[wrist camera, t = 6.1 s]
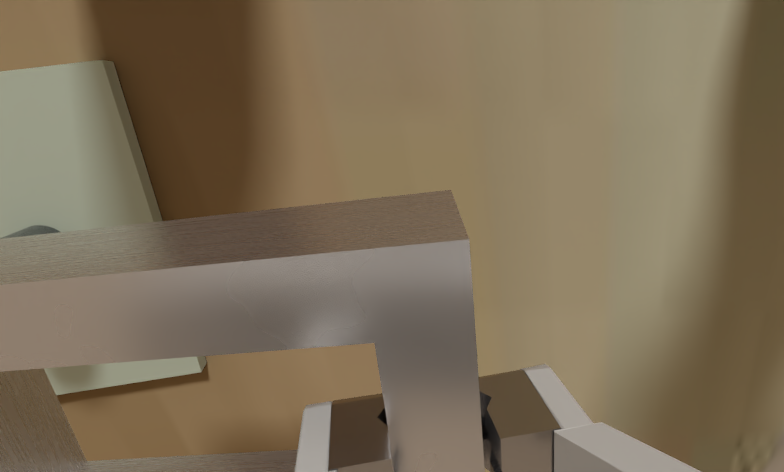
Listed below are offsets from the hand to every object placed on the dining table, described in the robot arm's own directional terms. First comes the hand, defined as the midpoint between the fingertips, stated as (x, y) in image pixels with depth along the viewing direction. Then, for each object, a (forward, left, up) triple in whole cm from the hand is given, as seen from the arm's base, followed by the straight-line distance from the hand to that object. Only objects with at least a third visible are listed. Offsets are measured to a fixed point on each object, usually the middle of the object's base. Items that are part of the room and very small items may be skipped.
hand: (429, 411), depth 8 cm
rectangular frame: (+5, 0, -3) cm, 5 cm away
